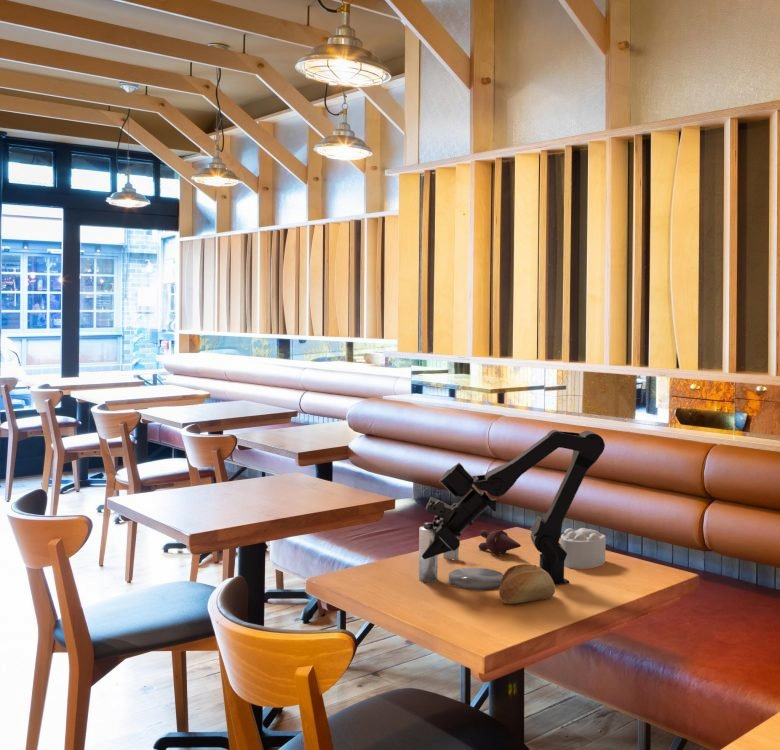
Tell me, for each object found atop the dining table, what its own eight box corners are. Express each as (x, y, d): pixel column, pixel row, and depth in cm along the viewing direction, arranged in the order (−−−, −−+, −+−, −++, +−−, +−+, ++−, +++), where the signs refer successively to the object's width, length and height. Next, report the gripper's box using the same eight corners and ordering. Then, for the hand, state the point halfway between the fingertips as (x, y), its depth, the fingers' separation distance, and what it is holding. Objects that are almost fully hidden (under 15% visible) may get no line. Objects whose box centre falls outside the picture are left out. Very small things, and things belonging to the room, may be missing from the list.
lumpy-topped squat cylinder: (610, 561, 220) (610, 530, 219) (585, 571, 210) (585, 538, 210) (576, 554, 227) (577, 523, 226) (550, 563, 218) (551, 531, 217)
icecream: (530, 533, 224) (490, 528, 235) (513, 531, 219) (472, 525, 230) (527, 559, 222) (487, 552, 234) (510, 557, 218) (469, 550, 229)
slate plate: (515, 586, 198) (515, 581, 198) (463, 592, 193) (463, 587, 193) (488, 570, 211) (488, 565, 211) (439, 575, 206) (439, 570, 206)
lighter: (458, 559, 221) (459, 530, 221) (455, 560, 220) (455, 531, 219) (438, 554, 226) (438, 526, 225) (434, 555, 224) (434, 527, 224)
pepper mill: (440, 581, 202) (440, 524, 201) (423, 583, 200) (423, 526, 199) (432, 575, 206) (433, 520, 205) (416, 577, 204) (416, 522, 203)
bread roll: (487, 600, 188) (488, 566, 188) (535, 589, 196) (535, 556, 196) (515, 612, 180) (516, 576, 180) (564, 600, 188) (564, 566, 188)
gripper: (443, 480, 211) (400, 521, 212) (446, 494, 192) (399, 539, 193) (473, 510, 211) (430, 551, 212) (479, 528, 192) (432, 573, 193)
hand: (422, 553), depth 203 cm, fingers open, 8 cm apart
